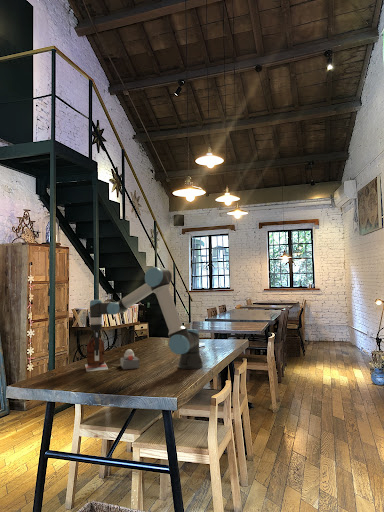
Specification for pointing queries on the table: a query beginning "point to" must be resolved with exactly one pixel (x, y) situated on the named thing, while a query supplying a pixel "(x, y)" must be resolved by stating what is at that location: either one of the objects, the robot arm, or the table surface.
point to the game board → (96, 367)
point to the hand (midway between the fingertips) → (96, 359)
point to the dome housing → (130, 362)
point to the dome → (128, 354)
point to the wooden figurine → (91, 353)
